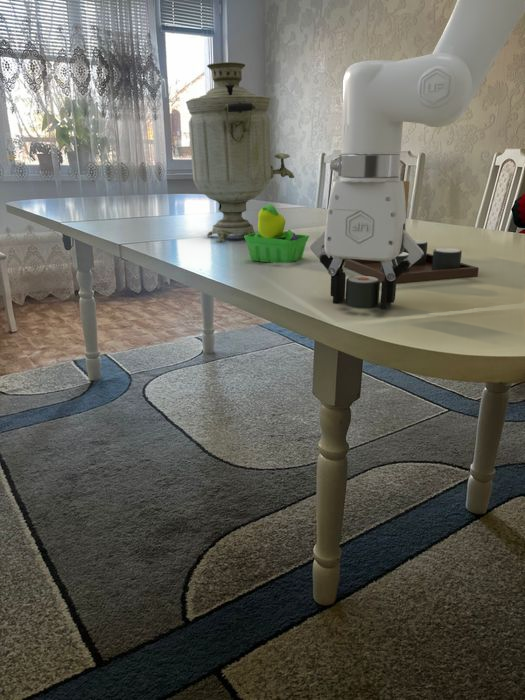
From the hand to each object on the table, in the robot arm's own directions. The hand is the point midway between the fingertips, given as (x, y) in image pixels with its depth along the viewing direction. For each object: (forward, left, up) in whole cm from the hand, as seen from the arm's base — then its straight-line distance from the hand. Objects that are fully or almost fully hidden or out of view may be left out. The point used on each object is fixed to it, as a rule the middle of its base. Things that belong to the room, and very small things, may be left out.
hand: (361, 303), depth 76 cm
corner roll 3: (+13, -23, 0) cm, 26 cm away
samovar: (+70, -3, -1) cm, 70 cm away
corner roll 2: (+23, -23, 0) cm, 33 cm away
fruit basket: (+37, 0, -1) cm, 37 cm away
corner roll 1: (+13, -13, 0) cm, 18 cm away
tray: (+18, -18, -1) cm, 26 cm away
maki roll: (0, 0, -1) cm, 1 cm away
